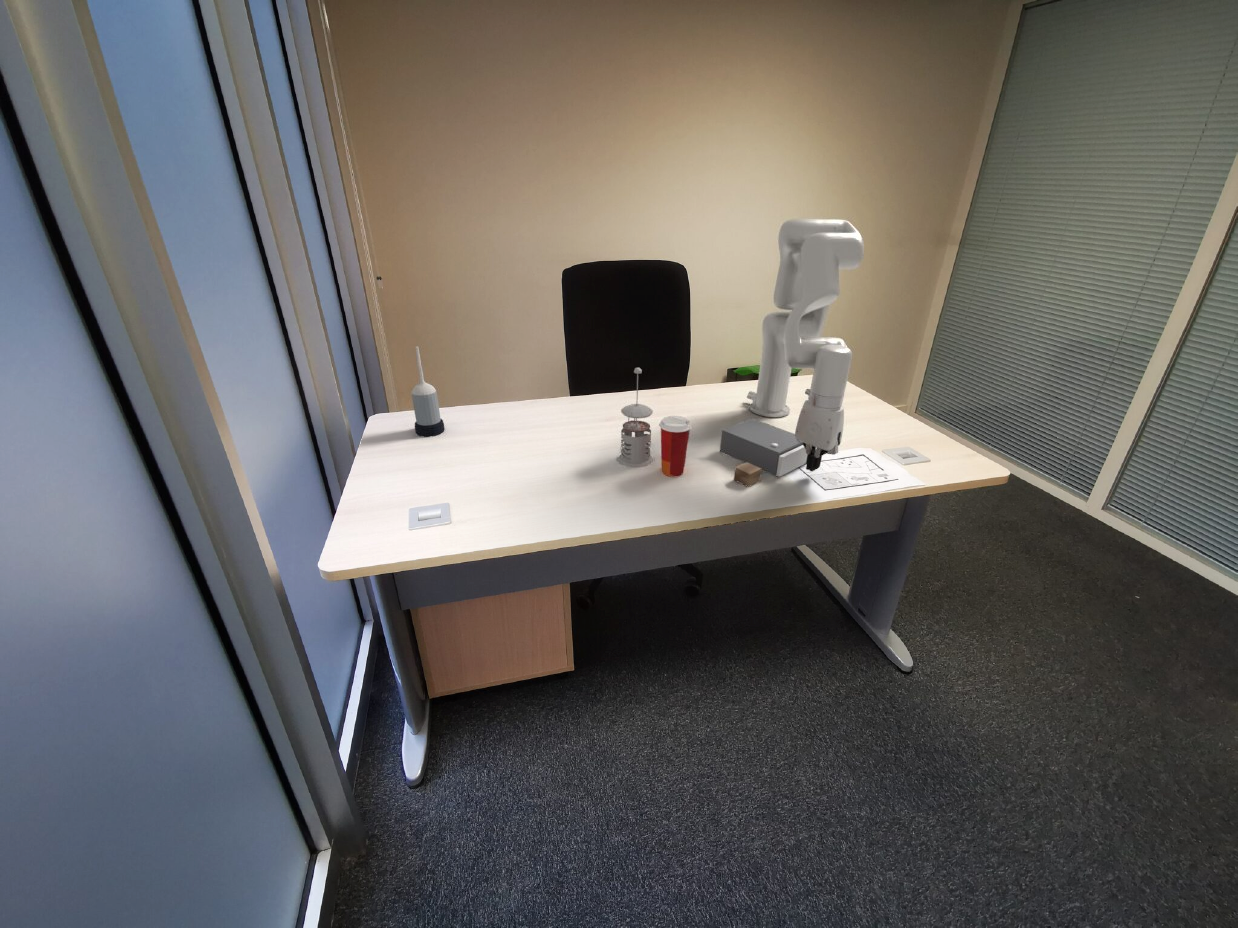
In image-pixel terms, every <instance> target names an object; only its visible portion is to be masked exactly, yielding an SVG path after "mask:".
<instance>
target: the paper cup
mask: <svg viewBox="0 0 1238 928" xmlns="http://www.w3.org/2000/svg"><path fill="white" fill-rule="evenodd" d="M658 426H659V428H660V463H661V467H660V468H661V469H660V470H661V473H662V474H663V475H664V476H666V477H668V478H669V477H671V478H678V477H681V476H682V475H684V472H685V466H686V465H685V464H686V458H687V451H688V443H689V438H690V431H691V428H692V425H691V422H690V420H689V419H688V417H687V418H686V417H684V416H680V415H669V416H668V415H667V416H666V417H664V418H662V419H661V421H660V422H659V424H658Z"/></svg>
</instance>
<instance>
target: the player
mask: <svg viewBox="0 0 1238 928" xmlns="http://www.w3.org/2000/svg"><path fill="white" fill-rule="evenodd" d="M801 445H803V444H801V443H800V442H798V441H797V440H796V437H795V432H794V433H793V432H790V431H789V430H788V431H787V430H785V429H783V428H780V427H778V426H774V425H771V424H768V423H766V422H764V421H763V422H762V421H760V420H757V419H755V418H750V419H747V420H744V421H741V422H739V423H736V424H734V425H731V426H729V427H726V428H724V429H722V430H721V437H720V446H719V452H720V453H722V454H725V455H726V456H729V457H731V458H734V459H736V460H738V461H739V462H742V463H743V464H744V463H746V462H748V463H750V464H752V465H755V466H757V467H759V468H761V469H762V470H761V471H763V472H765V473H768V474H770V475H773V476H774V477H776V476H777V475H776V473H777V467H778V461H779V456H780V455H781V454H783V453H785V452H787V451H789V450H793V449H795V448H797V447H799V446H801Z"/></svg>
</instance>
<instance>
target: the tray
mask: <svg viewBox="0 0 1238 928" xmlns="http://www.w3.org/2000/svg"><path fill="white" fill-rule="evenodd" d="M807 455H808V454H806V449H805V447H804V446H803V445H801V446H799V447H797V448H795V449H793V450H791V451H789V452H787V453H785V454H782V455H780V456H779V461H778V467H777V473H776V476H778V477H782V476H784V475H786V474H788V473H790V472H792V471H793V470H795V469H798V468H799V467H802V466H803V465H806V460H807Z"/></svg>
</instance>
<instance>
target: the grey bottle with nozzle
mask: <svg viewBox="0 0 1238 928" xmlns="http://www.w3.org/2000/svg"><path fill="white" fill-rule="evenodd" d="M415 353H416V359H417V360H416V361H417V367H418V372H419V383H418V384H416V385H415V386H414V387H413V388H412V390H411V399H412V404H413V410H414V415H415V416H414V417H415V423H414V431H415V434H417V436H419V437H421V436H424V437H423V438H430V436H432V437H436V436H440V435H441V433H442V434H443V433H444V432H445V431H446V430H445V429H446V428H445V422H444V420H443V419H442V418H441V413H440V407H439V406H440V405H439V398H438V394H437V393H438V392H437V389H436V388H435V387H434V386H433V385H432V384H430V383H428V382H426V381H425V380H424V372H423V367H422V361H421V360H422V359H421V355H420V350H419V346H415ZM444 430H445V431H444Z"/></svg>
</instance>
